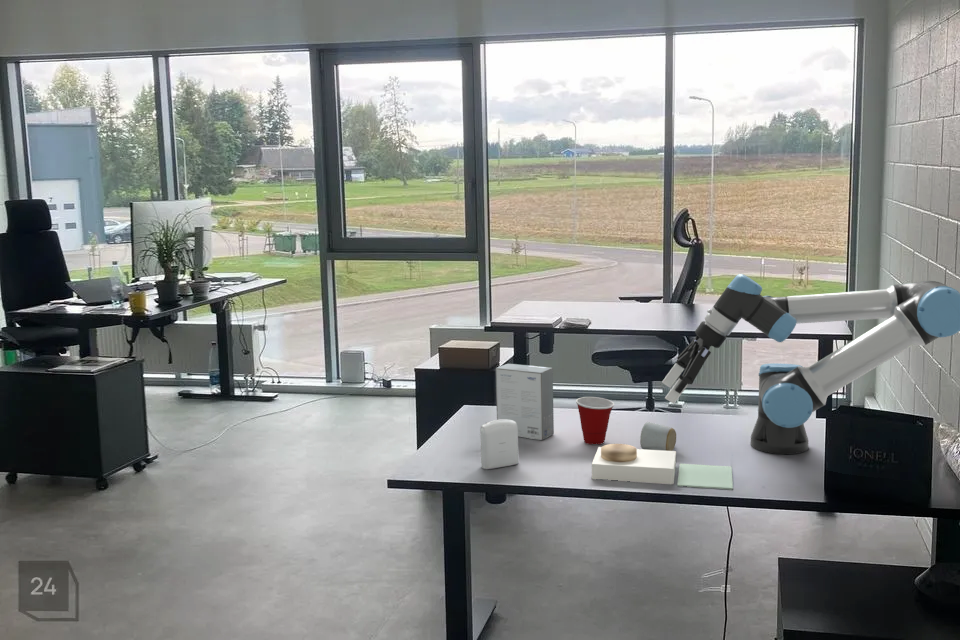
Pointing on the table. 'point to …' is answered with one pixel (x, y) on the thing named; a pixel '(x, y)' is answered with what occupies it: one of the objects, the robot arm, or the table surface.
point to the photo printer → (499, 444)
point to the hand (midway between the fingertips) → (667, 392)
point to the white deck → (638, 467)
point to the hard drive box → (526, 399)
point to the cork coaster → (618, 452)
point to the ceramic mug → (657, 437)
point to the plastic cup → (594, 418)
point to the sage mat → (705, 476)
